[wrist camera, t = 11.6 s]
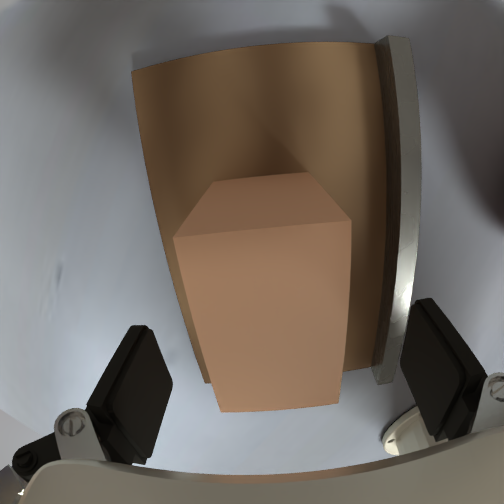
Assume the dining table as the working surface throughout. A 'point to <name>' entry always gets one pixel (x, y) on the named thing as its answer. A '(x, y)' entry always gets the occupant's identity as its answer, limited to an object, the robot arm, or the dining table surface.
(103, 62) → the dining table surface
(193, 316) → the carton
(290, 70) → the shelf board
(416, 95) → the rail
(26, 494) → the robot arm
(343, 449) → the dining table surface
